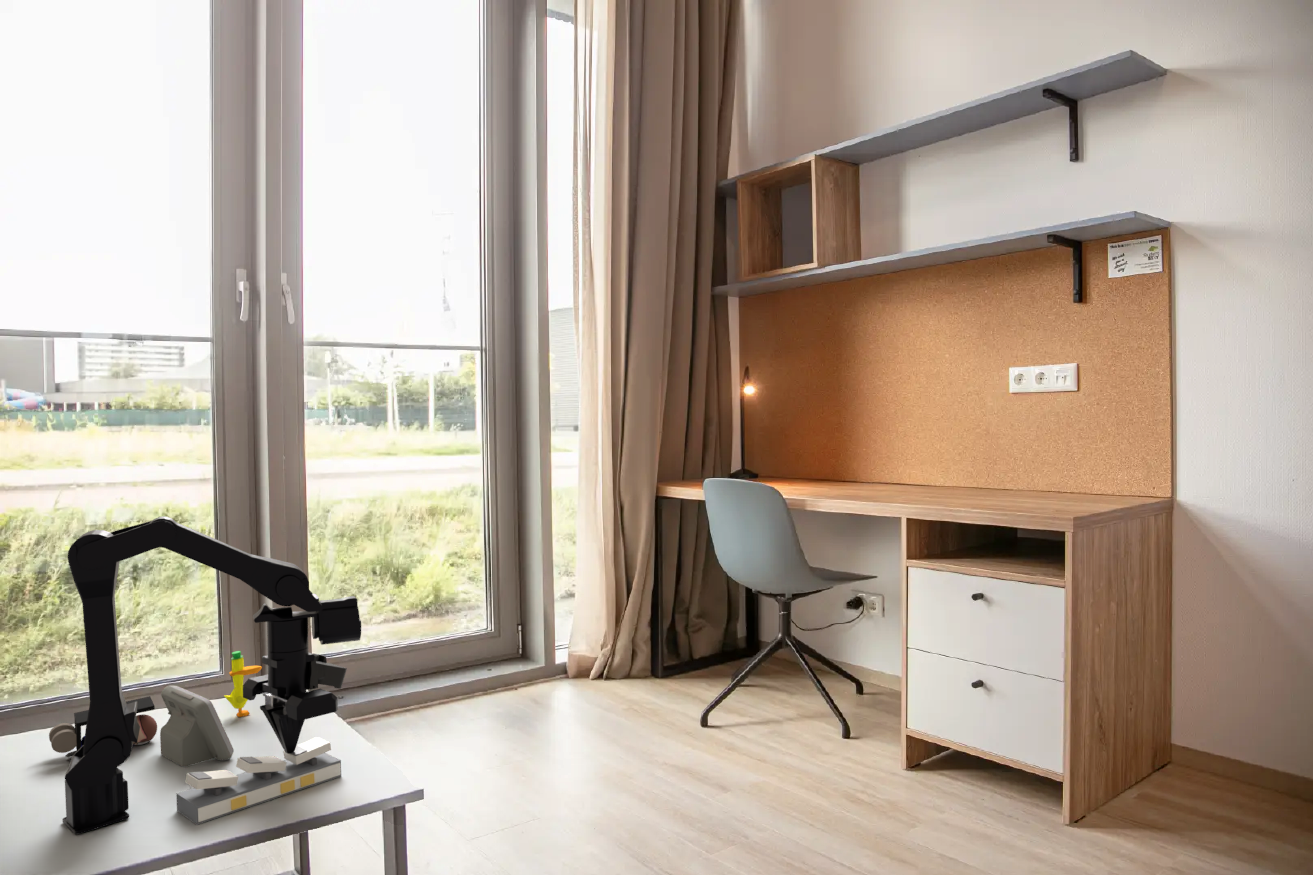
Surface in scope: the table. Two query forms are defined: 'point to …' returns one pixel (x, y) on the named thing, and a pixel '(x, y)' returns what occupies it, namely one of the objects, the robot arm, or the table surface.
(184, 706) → the digital clock
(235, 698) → the toy figure
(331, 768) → the switch unit
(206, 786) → the rocker near
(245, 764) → the rocker middle
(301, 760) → the rocker far
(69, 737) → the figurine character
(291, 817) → the table surface
